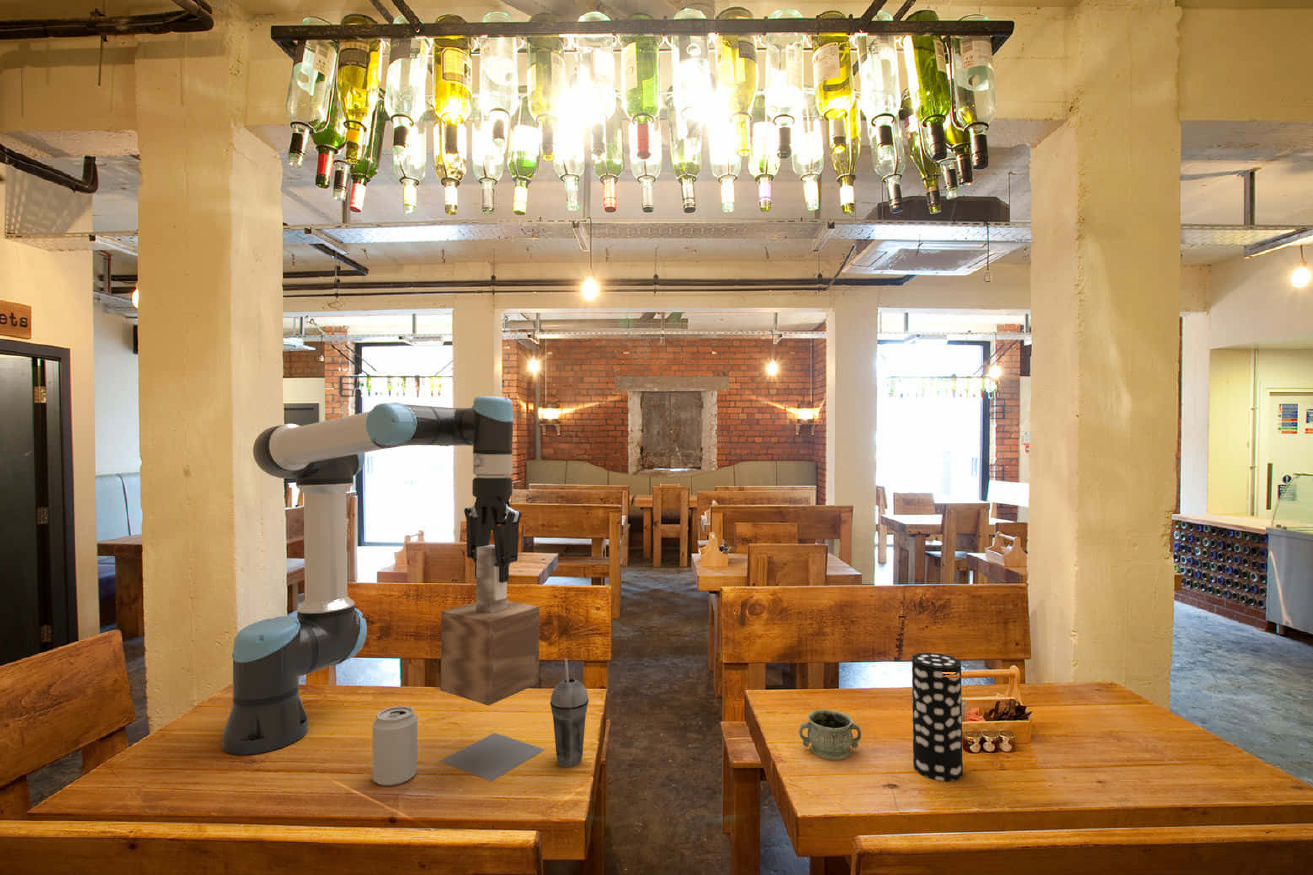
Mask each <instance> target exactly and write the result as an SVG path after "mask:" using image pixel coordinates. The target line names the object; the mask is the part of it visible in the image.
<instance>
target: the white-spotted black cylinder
mask: <svg viewBox="0 0 1313 875" xmlns="http://www.w3.org/2000/svg"><path fill="white" fill-rule="evenodd" d="M911 668H912V669H911V679H912V680H911V682H912V683H911V688H912V689H911V690H912V694H911V695H912V696H911V698H912V700H911V701H912V766H913V769H914V770H915V771H916V773H918V774H920V775H921V776H924V777H926V778H928V779H932V780H936V781H940V782H942V781H943V782H953V781H957V780H960V779H961V778H962V777H963V774H964V773H963V765H964V764H963V712H962V711H963V708H962V706H963V705H962V704H963V703H962V702H963V701H962V699H963V698H962V662H961V660H960V659H958V658H956V657H954V656H951V655H949V654H948V655H947V654H944V653H943V654H942V653H936V652H921V653H920V652H919V653H915V654H913V655H912V656H911ZM942 672H956V673H955V674H943V673H942ZM945 675H954V676H959V677H961V678H947V677H942V676H945Z"/></svg>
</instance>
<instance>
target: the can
mask: <svg viewBox="0 0 1313 875" xmlns="http://www.w3.org/2000/svg"><path fill="white" fill-rule="evenodd" d="M414 711H415V709H414V708H413V707H412V706H408V705H396V706H391V707H388V708H383V709H382V710H380V711H379V712H378V713H377V714H376V719H375V721H373V723H372V780H373V782H374V783H376V784H378V785H380V786H383V787H385V786H386V787H390V786H391V787H393V786H397V785H402V784H404V783H406V782H408V781H410V780H411V779H412V778H413V777H414V776H415V775H416V774H417V773H418V715H416V714H415V713H414Z"/></svg>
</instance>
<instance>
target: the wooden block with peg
mask: <svg viewBox="0 0 1313 875" xmlns="http://www.w3.org/2000/svg"><path fill="white" fill-rule="evenodd" d="M503 558H504V557H503ZM496 563H497V559H496V552H495V544H489V545H487V546H481V547H477V576H476V578H475V579H476V580H475V581H476V582H475V583H476V586H475V587H476V588H475V592H476V594H475V602H471V603H468V604H464V605H460V606H456V607H452V608H448V609H445V610H441V611H440V612H441V615H440V616H441V618H440V619H441V622H440V624H441V625H440V627H441V628H440V629H441V630H440V632H441V633H440V691H442V692H445V693H447V694H451V695H454V696H457V697H460V698H464V699H467V700H470V701H472V702H475V703H479V704H482V705H485V706H488V707H489V706H491V705H493V704H496V703H498V702H500V701H502V700H504V699H506V698H509V697H511V696H514V695H516V694H518V693H520V692H522V691H524V690H527V689H529V688H532V687H534V686H536V685H538V684H539V683H540V680H539V679H540V609H541V608H540V606H537V605H532V604H528V603H527V604H526V603H523V602H517V601H512V600H507V598H504V599H501V600H497V601H495V600H493V594H494V566H495V565H494V564H496Z"/></svg>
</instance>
